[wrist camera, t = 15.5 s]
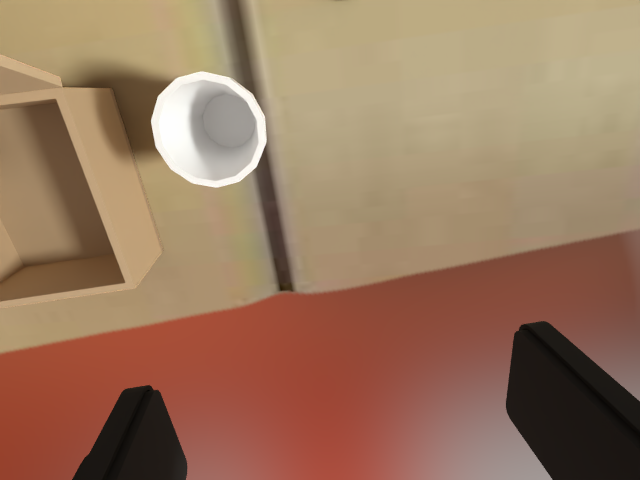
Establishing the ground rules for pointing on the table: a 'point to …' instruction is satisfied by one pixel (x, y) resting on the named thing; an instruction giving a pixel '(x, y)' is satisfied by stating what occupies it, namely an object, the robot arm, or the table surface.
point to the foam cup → (209, 129)
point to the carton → (69, 198)
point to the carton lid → (24, 77)
